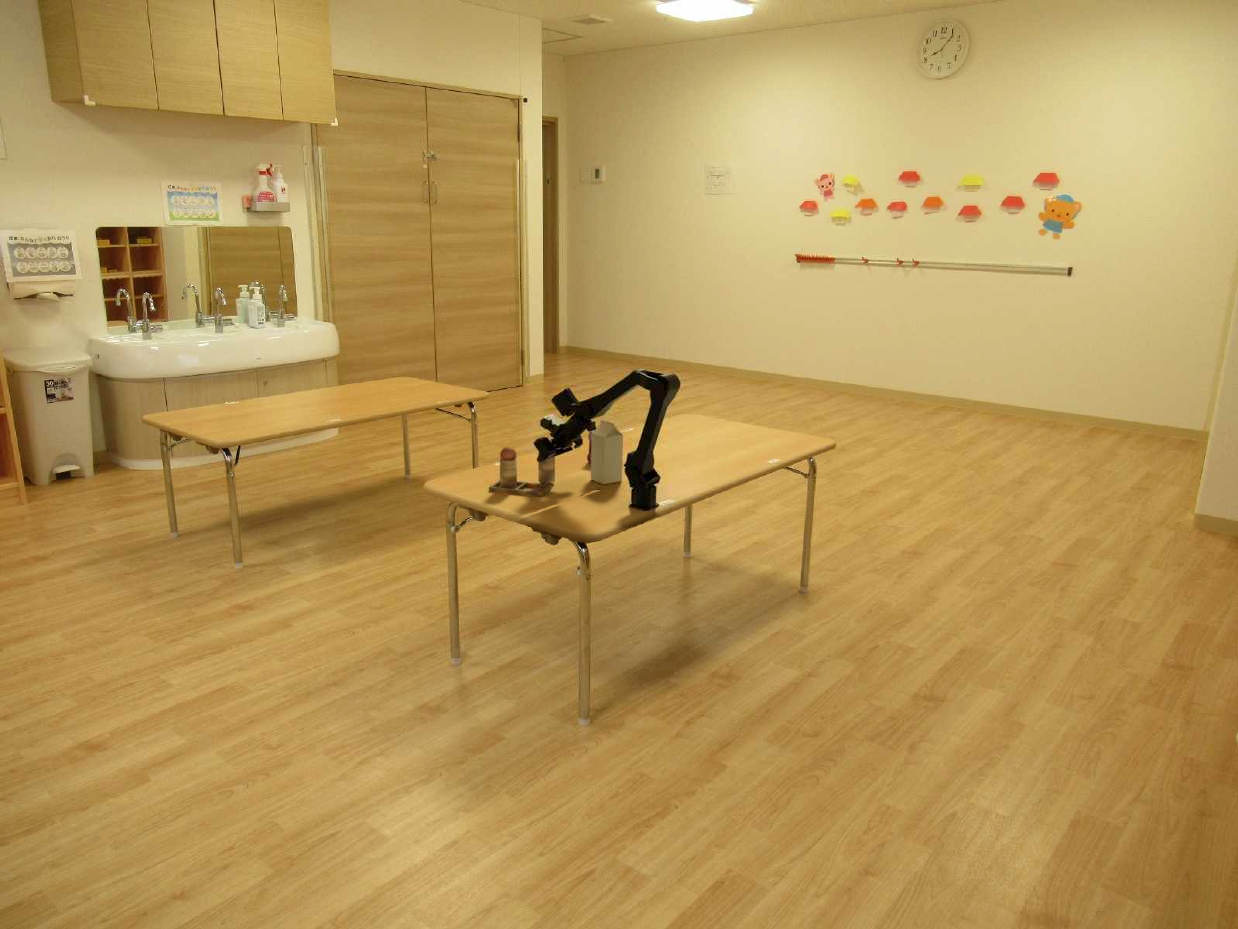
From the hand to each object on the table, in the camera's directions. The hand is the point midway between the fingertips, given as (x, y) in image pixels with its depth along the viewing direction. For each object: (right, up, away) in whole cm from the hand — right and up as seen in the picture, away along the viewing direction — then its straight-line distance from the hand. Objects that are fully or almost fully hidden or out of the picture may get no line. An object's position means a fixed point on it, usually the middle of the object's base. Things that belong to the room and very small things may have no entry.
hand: (542, 459), depth 273 cm
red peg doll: (-10, -9, -5) cm, 14 cm away
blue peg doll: (+1, -7, +1) cm, 7 cm away
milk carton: (+19, -7, +9) cm, 22 cm away
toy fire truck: (+18, -2, +29) cm, 34 cm away
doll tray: (-6, -10, -5) cm, 13 cm away
